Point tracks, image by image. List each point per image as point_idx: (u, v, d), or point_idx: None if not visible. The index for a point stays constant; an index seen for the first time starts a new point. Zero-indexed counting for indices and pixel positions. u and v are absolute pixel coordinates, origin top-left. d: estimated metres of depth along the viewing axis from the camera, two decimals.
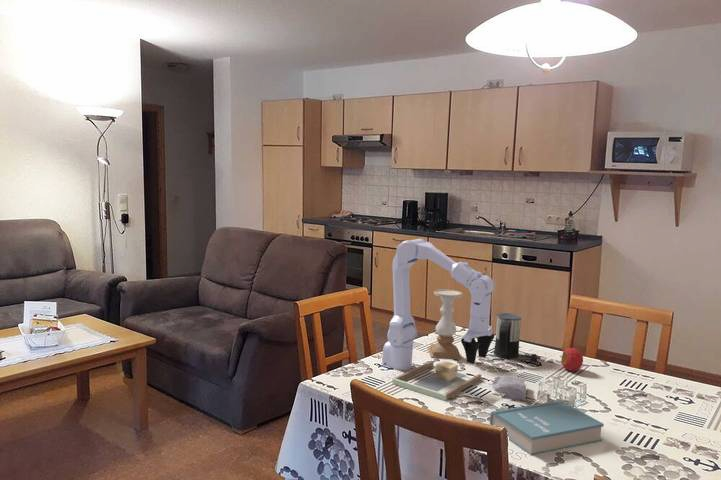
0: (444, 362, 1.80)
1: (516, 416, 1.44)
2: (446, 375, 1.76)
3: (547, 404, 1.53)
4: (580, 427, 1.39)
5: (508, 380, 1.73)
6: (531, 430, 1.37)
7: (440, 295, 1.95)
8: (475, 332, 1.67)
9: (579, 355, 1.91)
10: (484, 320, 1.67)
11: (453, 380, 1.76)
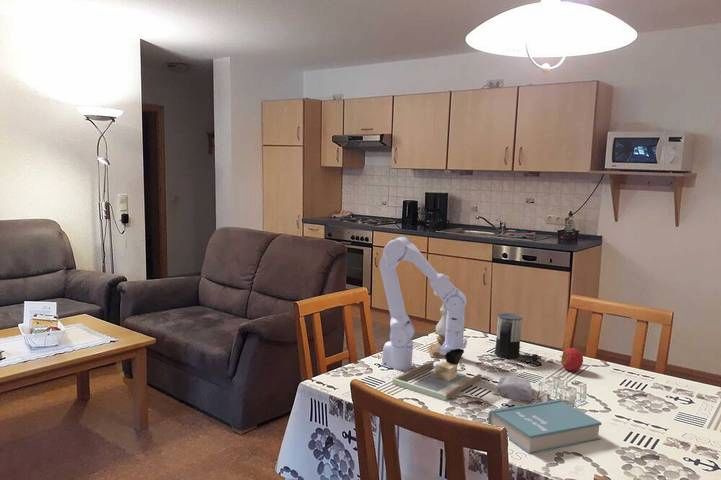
0: (444, 362, 1.80)
1: (514, 415, 1.45)
2: (446, 375, 1.75)
3: (545, 403, 1.54)
4: (578, 426, 1.40)
5: (513, 380, 1.73)
6: (529, 429, 1.37)
7: None
8: (450, 345, 1.78)
9: (579, 355, 1.91)
10: (458, 334, 1.77)
11: (453, 380, 1.76)
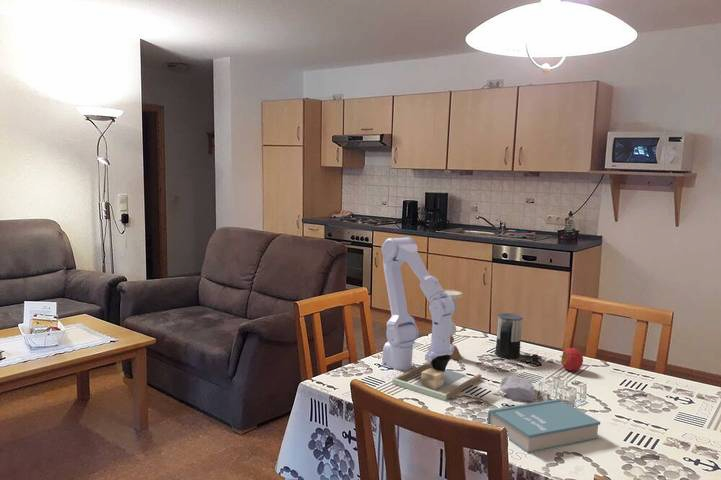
0: (430, 369, 1.73)
1: (513, 415, 1.45)
2: (432, 383, 1.68)
3: (544, 402, 1.54)
4: (577, 426, 1.40)
5: (516, 381, 1.73)
6: (528, 428, 1.38)
7: None
8: (436, 351, 1.71)
9: (579, 355, 1.91)
10: (445, 340, 1.70)
11: (453, 380, 1.76)
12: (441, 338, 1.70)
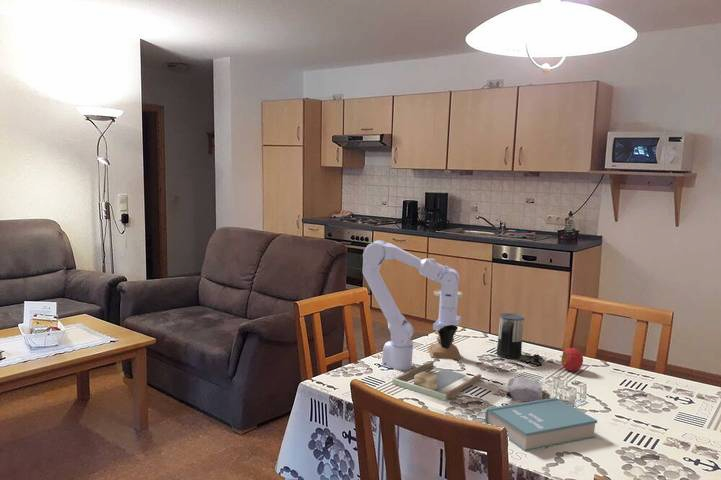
0: (423, 373, 1.70)
1: (511, 413, 1.46)
2: (425, 387, 1.65)
3: (542, 401, 1.55)
4: (574, 424, 1.41)
5: (523, 382, 1.72)
6: (525, 426, 1.38)
7: None
8: (444, 321, 1.79)
9: (579, 355, 1.91)
10: (452, 310, 1.78)
11: (453, 380, 1.76)
12: (448, 309, 1.78)
